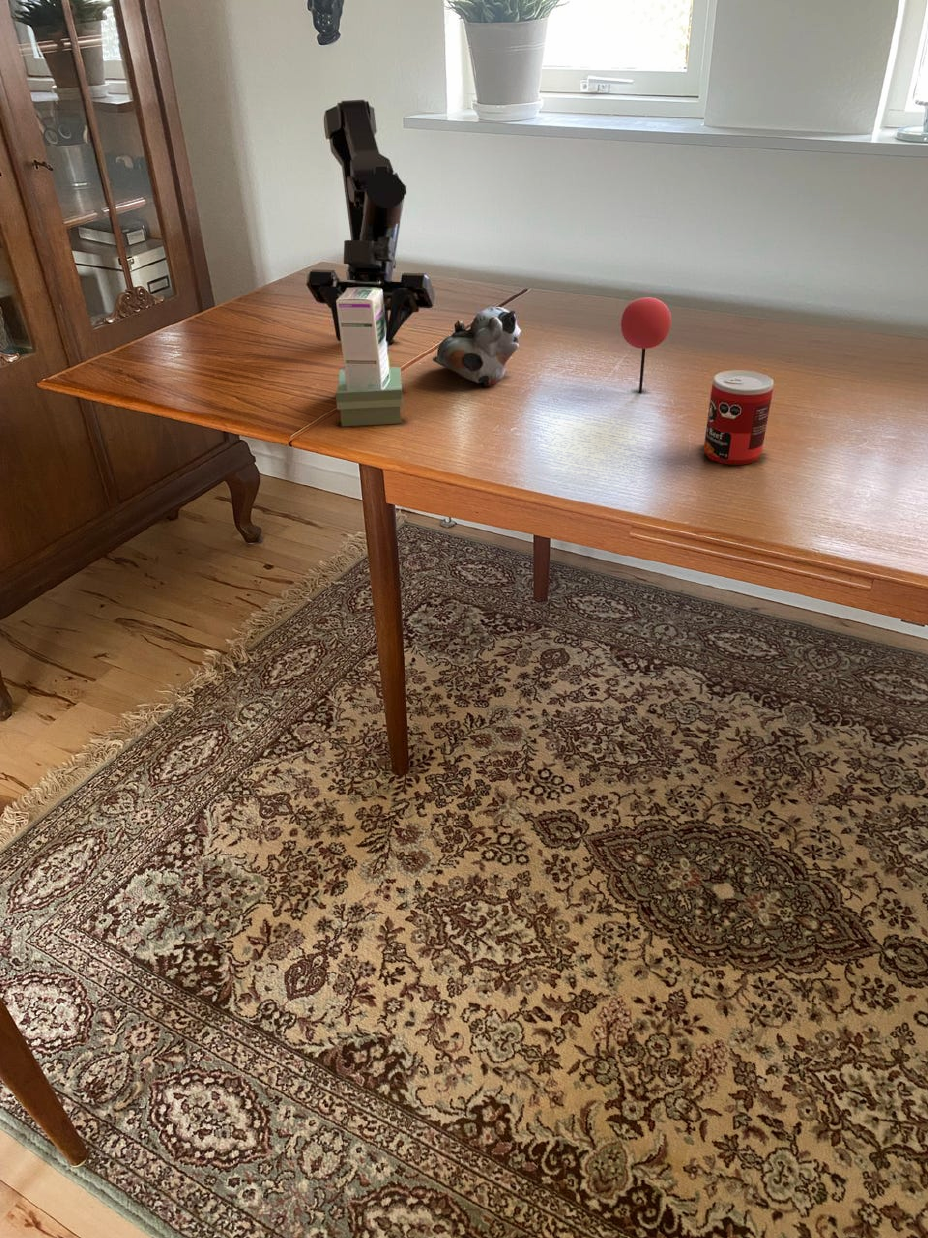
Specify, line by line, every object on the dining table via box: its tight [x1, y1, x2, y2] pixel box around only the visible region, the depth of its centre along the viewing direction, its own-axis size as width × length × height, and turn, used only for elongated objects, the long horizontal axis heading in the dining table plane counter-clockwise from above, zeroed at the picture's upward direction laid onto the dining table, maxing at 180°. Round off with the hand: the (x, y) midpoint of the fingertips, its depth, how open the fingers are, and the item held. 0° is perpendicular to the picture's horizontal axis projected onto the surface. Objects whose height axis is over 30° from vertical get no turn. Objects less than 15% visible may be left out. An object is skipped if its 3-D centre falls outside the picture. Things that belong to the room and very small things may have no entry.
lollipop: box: [620, 296, 672, 393], centre depth 147 cm, size 8×8×15 cm
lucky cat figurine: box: [432, 306, 522, 387], centre depth 155 cm, size 15×12×14 cm
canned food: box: [703, 369, 775, 466], centre depth 128 cm, size 8×8×11 cm
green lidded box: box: [335, 366, 404, 427], centre depth 146 cm, size 10×14×6 cm
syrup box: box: [336, 287, 391, 391], centre depth 140 cm, size 6×6×14 cm
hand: (362, 340), depth 138 cm, fingers open, 7 cm apart
